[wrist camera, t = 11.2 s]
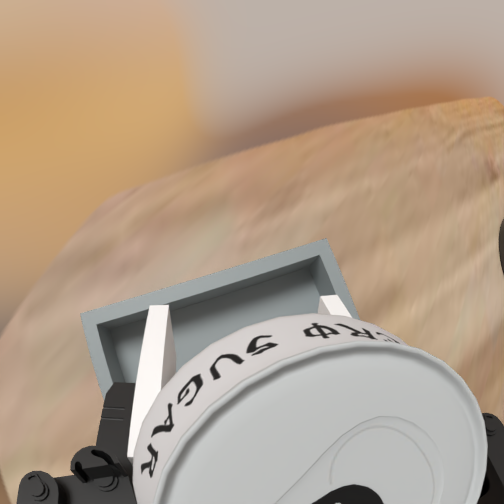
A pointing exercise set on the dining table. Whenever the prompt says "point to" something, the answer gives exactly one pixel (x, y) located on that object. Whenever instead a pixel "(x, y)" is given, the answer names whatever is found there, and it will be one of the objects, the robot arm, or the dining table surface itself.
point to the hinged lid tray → (214, 308)
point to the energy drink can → (312, 422)
